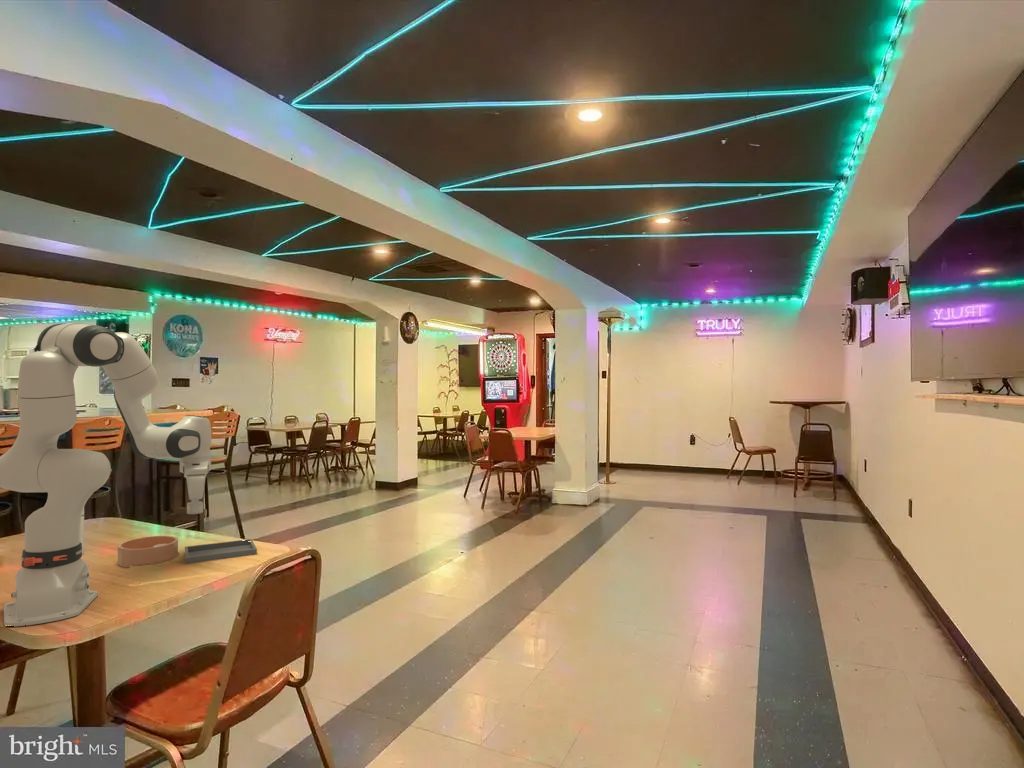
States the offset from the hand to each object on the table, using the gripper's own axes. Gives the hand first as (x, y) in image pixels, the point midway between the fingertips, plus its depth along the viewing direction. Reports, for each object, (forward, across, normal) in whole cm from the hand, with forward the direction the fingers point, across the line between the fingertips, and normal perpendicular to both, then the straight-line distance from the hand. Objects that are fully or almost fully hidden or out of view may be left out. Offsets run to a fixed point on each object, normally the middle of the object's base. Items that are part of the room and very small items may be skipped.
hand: (194, 509), depth 185 cm
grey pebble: (+1, 0, 0) cm, 1 cm away
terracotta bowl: (+16, -5, -12) cm, 21 cm away
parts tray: (+16, 0, +8) cm, 17 cm away
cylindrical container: (+16, -23, -35) cm, 45 cm away
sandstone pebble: (+15, -5, -9) cm, 18 cm away
